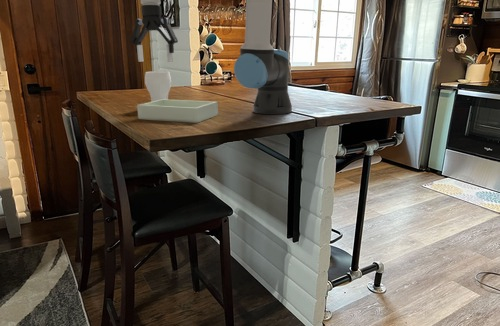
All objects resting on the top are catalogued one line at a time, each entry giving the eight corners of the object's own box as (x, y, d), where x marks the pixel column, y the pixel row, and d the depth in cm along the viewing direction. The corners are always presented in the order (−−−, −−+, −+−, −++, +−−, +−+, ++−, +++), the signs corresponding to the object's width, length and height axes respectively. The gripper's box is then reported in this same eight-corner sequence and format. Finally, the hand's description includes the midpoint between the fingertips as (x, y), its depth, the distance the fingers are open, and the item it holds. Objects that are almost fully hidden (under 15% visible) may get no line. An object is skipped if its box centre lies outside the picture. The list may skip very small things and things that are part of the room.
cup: (167, 110, 155) (164, 72, 150) (142, 110, 157) (139, 72, 153) (177, 106, 165) (174, 71, 160) (154, 106, 167) (151, 70, 162)
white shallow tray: (217, 115, 144) (217, 101, 143) (197, 122, 130) (196, 108, 128) (163, 111, 153) (162, 99, 151) (138, 118, 138) (137, 105, 137)
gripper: (184, 4, 148) (187, 61, 154) (129, 7, 156) (134, 61, 162) (174, 2, 141) (178, 62, 147) (117, 5, 149) (123, 61, 155)
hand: (155, 61), depth 155 cm, fingers open, 13 cm apart
